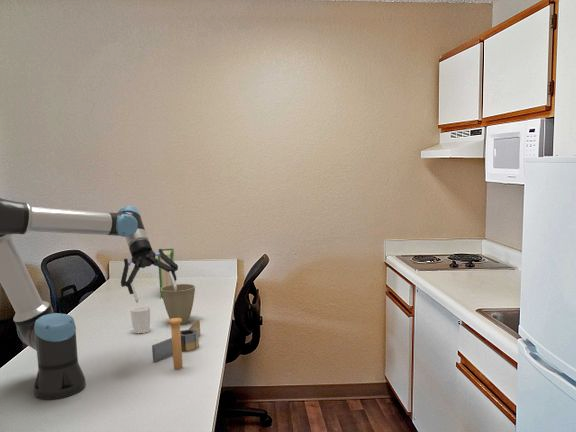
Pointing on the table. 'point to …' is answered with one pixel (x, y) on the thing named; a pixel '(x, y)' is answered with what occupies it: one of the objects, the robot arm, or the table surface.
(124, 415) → the table surface
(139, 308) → the white cup
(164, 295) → the plant pot
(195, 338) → the hinge leaf
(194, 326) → the hinge leaf
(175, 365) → the hinge pin
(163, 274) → the hardback book
